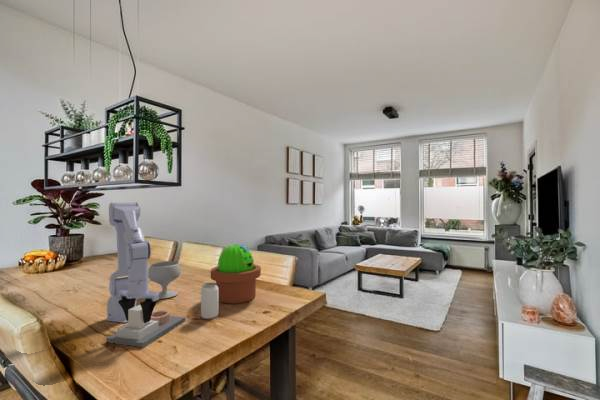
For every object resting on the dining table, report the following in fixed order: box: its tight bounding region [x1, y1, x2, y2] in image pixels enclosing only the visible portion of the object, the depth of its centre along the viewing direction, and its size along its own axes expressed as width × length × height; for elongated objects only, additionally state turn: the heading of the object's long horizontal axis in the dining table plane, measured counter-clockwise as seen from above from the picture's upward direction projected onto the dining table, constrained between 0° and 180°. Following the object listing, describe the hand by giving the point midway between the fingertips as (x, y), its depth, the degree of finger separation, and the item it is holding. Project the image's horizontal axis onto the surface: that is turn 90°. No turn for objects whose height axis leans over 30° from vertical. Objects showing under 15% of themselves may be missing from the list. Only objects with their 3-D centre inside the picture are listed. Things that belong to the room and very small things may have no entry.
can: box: [200, 282, 219, 320], centre depth 113 cm, size 6×6×12 cm
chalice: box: [148, 260, 182, 300], centre depth 137 cm, size 14×14×15 cm
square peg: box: [127, 304, 150, 330], centre depth 96 cm, size 4×4×8 cm
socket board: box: [105, 309, 186, 348], centre depth 100 cm, size 14×20×4 cm
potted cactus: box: [210, 243, 262, 305], centre depth 134 cm, size 22×22×25 cm
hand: (138, 320), depth 95 cm, fingers open, 6 cm apart
